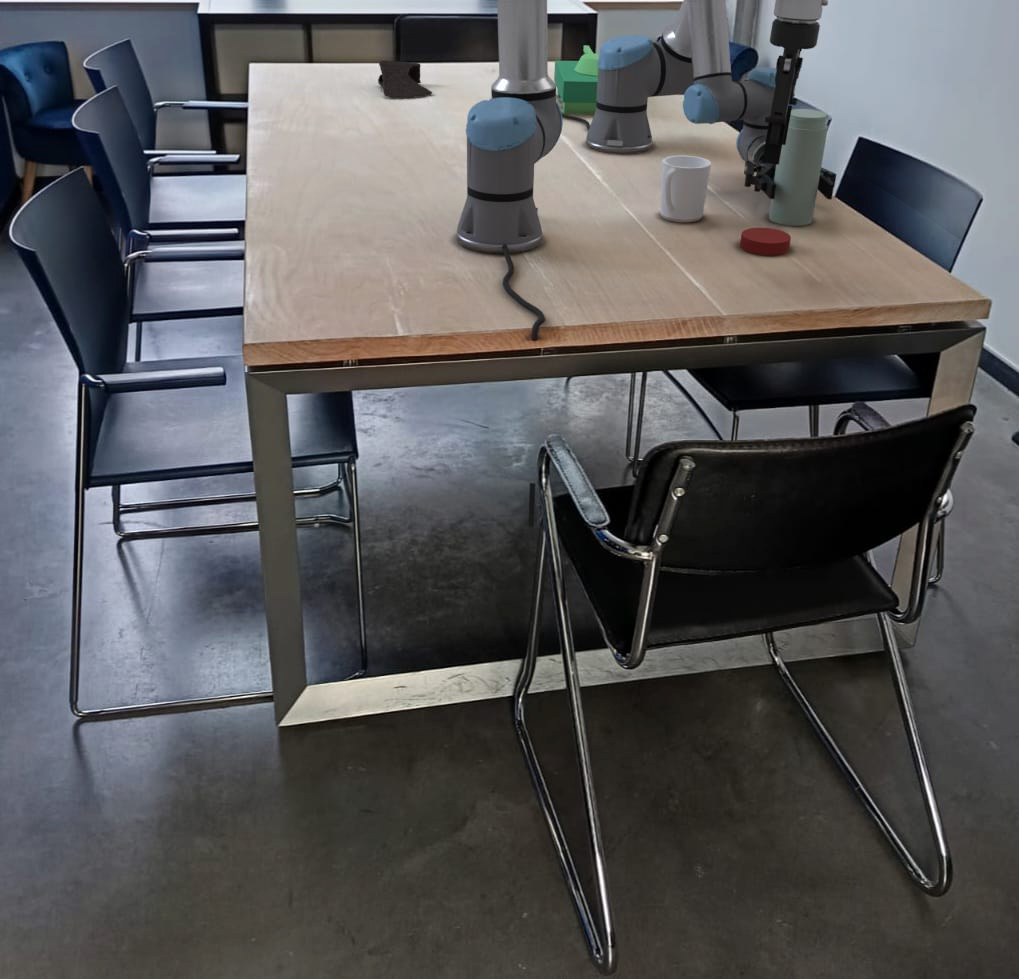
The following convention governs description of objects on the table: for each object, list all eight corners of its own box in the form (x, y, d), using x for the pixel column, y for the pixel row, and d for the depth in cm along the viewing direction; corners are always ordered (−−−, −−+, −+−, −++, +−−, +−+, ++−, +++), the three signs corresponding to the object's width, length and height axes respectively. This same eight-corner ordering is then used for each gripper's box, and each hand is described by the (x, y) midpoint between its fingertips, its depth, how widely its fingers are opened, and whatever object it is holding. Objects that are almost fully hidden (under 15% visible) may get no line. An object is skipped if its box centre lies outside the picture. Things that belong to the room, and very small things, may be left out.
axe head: (443, 87, 294) (392, 77, 287) (436, 115, 299) (385, 106, 292) (421, 62, 307) (371, 52, 300) (414, 89, 311) (365, 80, 304)
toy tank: (617, 42, 302) (635, 66, 272) (613, 88, 309) (631, 117, 279) (553, 40, 301) (564, 65, 271) (551, 87, 308) (562, 116, 278)
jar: (778, 226, 206) (795, 119, 195) (762, 213, 213) (777, 108, 202) (819, 225, 207) (837, 117, 197) (801, 211, 214) (818, 107, 204)
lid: (754, 236, 201) (755, 224, 199) (797, 246, 196) (799, 234, 195) (731, 248, 195) (732, 235, 194) (775, 259, 190) (777, 246, 189)
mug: (673, 205, 215) (679, 152, 210) (713, 215, 210) (719, 161, 205) (642, 218, 208) (647, 164, 202) (683, 229, 203) (689, 173, 197)
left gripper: (816, 34, 165) (790, 174, 176) (824, 11, 185) (801, 138, 196) (766, 29, 166) (744, 169, 178) (779, 7, 187) (759, 133, 198)
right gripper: (822, 178, 224) (858, 212, 205) (713, 178, 223) (738, 211, 204) (829, 141, 220) (865, 171, 202) (717, 140, 219) (744, 171, 200)
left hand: (774, 153), depth 187 cm, fingers open, 13 cm apart
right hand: (802, 191), depth 203 cm, fingers open, 10 cm apart
